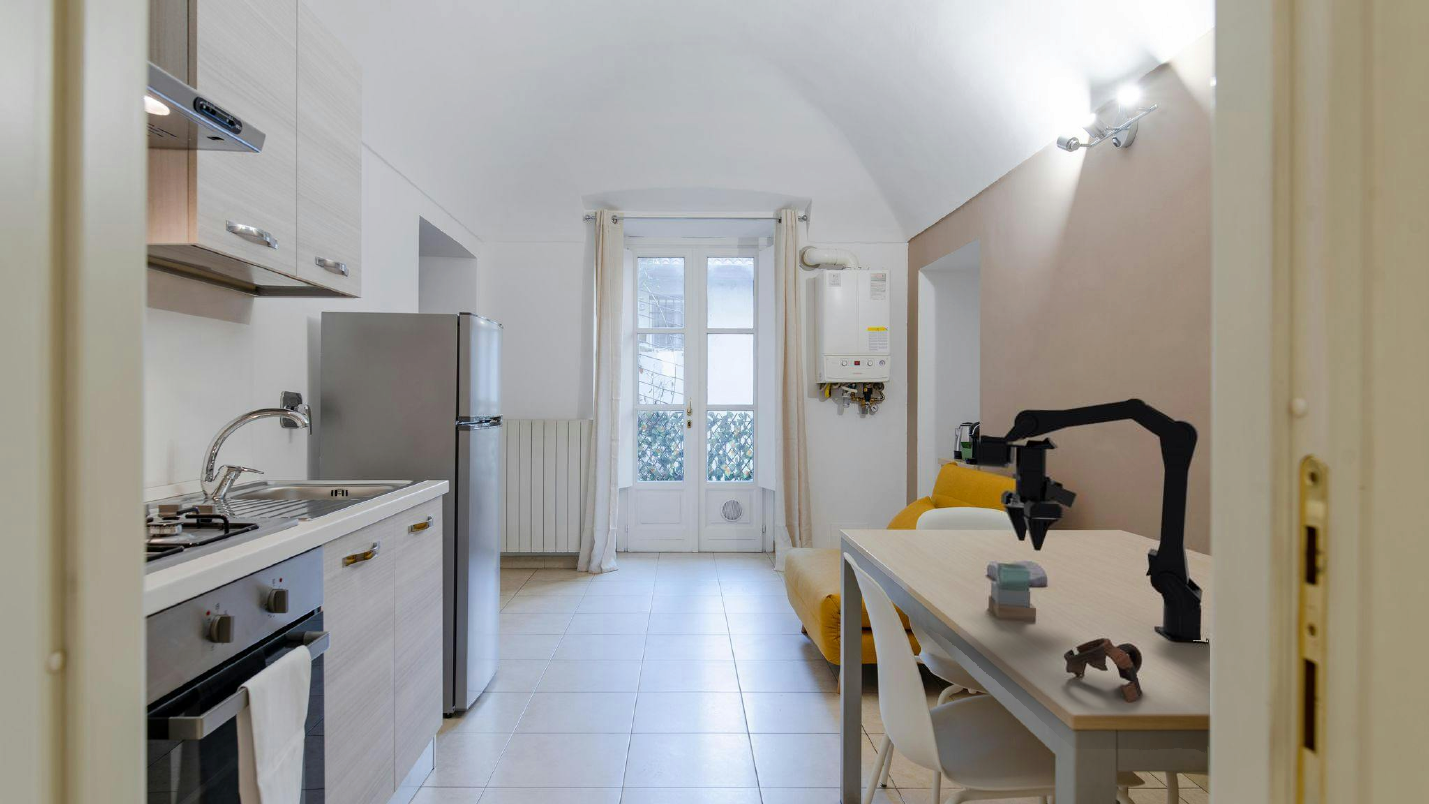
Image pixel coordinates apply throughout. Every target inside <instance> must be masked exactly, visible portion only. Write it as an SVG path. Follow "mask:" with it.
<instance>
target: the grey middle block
mask: <svg viewBox="0 0 1429 804" xmlns="http://www.w3.org/2000/svg"><path fill="white" fill-rule="evenodd" d="M990 583H991V584H990V595H991V597H992V598H993V599H994V601H995V602H996V603H997V605H1009V606H1024V607H1030V603H1031V591H1030V590H1029V591H1018V590H1004V589H1001V587H1000V586H999V584H998V583H997V581H995V580H993V581H992V580H991V581H990Z"/></svg>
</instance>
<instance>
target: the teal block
mask: <svg viewBox="0 0 1429 804" xmlns="http://www.w3.org/2000/svg"><path fill="white" fill-rule="evenodd" d="M1005 563H1006V562H999V563H998V567H997V581H996V582H997V583H998V584H999V586H1000V587H1001V589H1004V590H1018V591H1030V571H1029V570H1028V569H1027V568H1026V566H1025V565H1020V564H1005Z"/></svg>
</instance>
